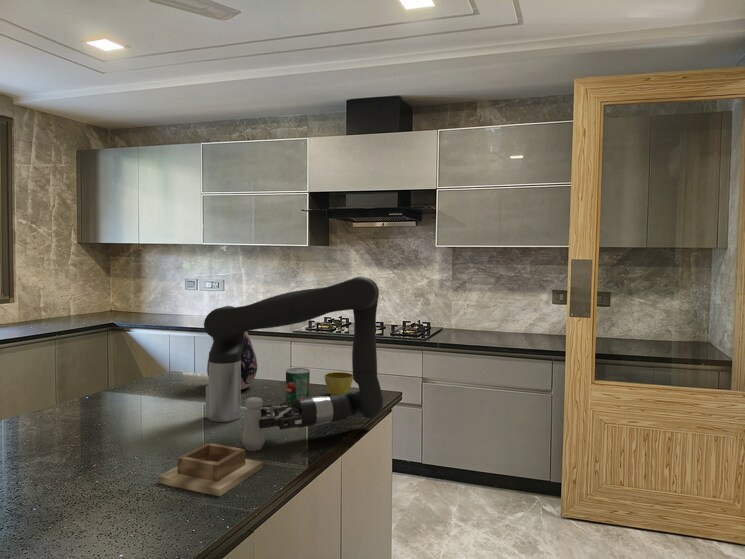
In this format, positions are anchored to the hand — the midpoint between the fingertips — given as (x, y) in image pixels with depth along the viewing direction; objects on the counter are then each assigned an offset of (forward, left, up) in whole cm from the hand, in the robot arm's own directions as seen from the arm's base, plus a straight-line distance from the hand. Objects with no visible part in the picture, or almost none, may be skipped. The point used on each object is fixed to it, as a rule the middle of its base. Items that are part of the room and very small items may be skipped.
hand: (253, 419), depth 141 cm
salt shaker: (0, 0, -8) cm, 8 cm away
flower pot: (-2, +56, -8) cm, 57 cm away
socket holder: (+1, -18, -8) cm, 20 cm away
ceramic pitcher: (-42, +48, -8) cm, 64 cm away
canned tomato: (-10, +41, -8) cm, 43 cm away
